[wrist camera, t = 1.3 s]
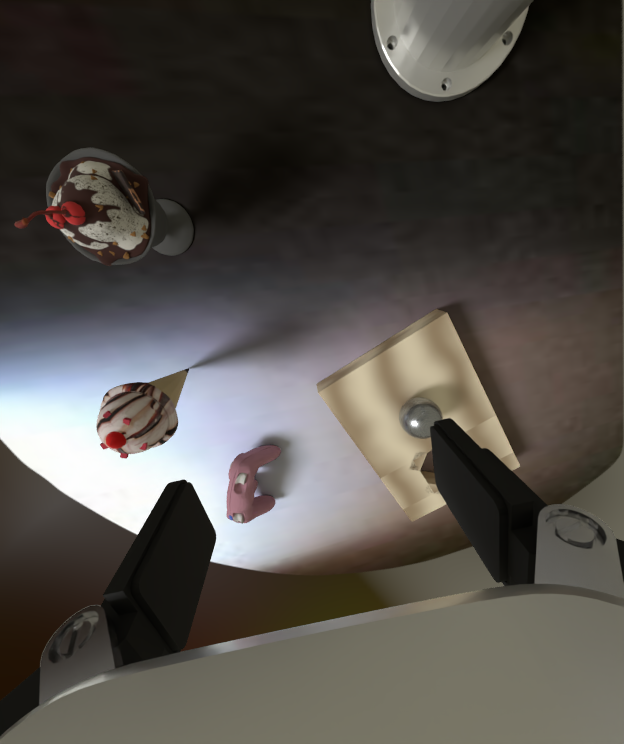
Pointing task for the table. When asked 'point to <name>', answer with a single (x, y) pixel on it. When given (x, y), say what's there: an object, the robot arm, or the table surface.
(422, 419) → the steel ball
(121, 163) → the sundae
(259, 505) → the video game controller
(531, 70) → the table surface
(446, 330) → the hole board
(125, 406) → the ice cream cone
